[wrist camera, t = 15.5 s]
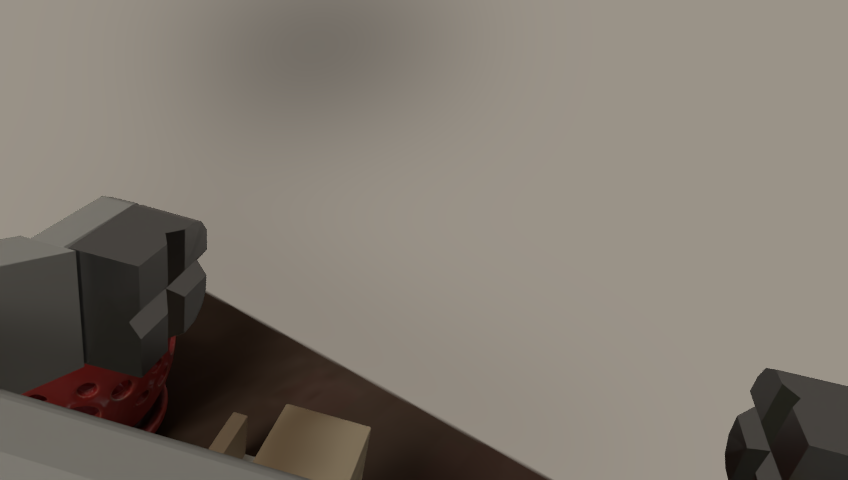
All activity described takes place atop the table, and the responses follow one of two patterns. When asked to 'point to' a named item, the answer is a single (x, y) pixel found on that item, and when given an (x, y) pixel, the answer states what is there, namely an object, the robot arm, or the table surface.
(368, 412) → the table surface
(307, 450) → the beech block
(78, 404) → the plant pot
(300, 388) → the table surface
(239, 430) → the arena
